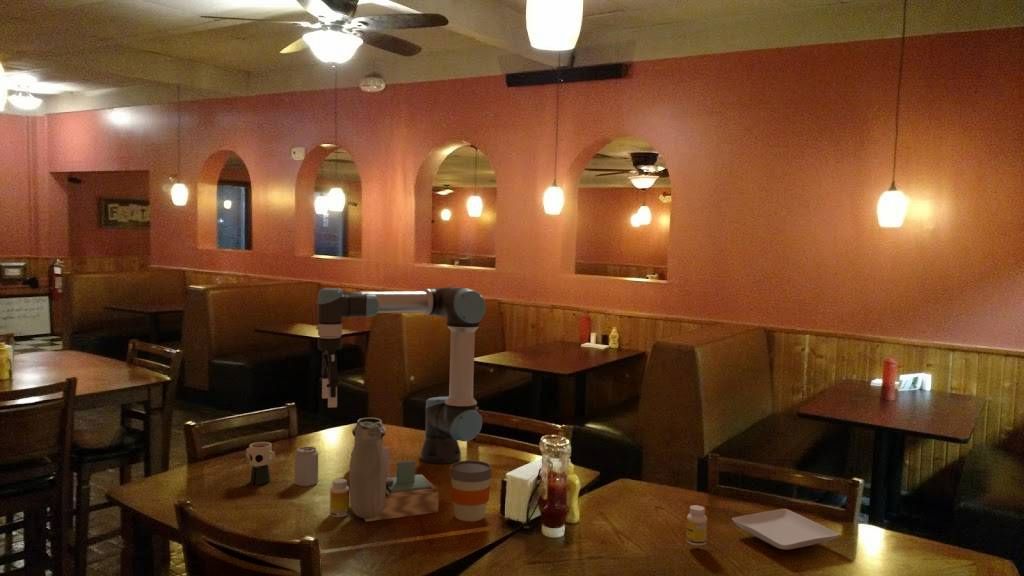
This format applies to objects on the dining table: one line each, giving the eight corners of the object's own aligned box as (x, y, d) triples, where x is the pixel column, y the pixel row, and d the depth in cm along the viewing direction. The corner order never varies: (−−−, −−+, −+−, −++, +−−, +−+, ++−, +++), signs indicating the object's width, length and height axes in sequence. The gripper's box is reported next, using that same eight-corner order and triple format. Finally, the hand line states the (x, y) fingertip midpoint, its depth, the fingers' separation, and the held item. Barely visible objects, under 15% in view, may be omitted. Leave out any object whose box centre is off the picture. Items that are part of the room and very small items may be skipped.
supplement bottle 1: (351, 516, 218) (351, 482, 218) (332, 519, 216) (332, 484, 215) (346, 510, 223) (346, 477, 223) (328, 512, 221) (328, 479, 220)
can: (321, 481, 249) (321, 446, 248) (313, 488, 242) (313, 452, 241) (299, 479, 250) (299, 444, 249) (291, 487, 242) (291, 451, 242)
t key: (391, 487, 227) (391, 445, 226) (393, 490, 224) (393, 448, 223) (357, 491, 223) (357, 448, 222) (358, 493, 220) (359, 450, 220)
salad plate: (782, 556, 198) (783, 544, 198) (729, 528, 218) (729, 516, 218) (840, 545, 207) (841, 533, 207) (784, 518, 226) (785, 507, 226)
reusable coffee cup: (459, 526, 213) (460, 475, 212) (442, 511, 224) (443, 463, 223) (498, 519, 219) (499, 469, 218) (480, 505, 230) (481, 458, 229)
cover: (418, 479, 235) (419, 454, 235) (430, 491, 224) (430, 465, 224) (381, 483, 230) (381, 458, 230) (391, 495, 219) (391, 469, 219)
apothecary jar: (391, 472, 260) (392, 421, 259) (359, 477, 254) (359, 426, 252) (377, 463, 270) (377, 414, 269) (345, 468, 264) (346, 418, 262)
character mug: (239, 484, 244) (239, 445, 243) (253, 478, 251) (253, 440, 250) (267, 488, 241) (267, 449, 240) (280, 481, 247) (281, 443, 247)
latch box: (422, 494, 238) (422, 473, 238) (438, 512, 224) (438, 489, 223) (354, 503, 229) (354, 481, 229) (365, 521, 215) (365, 497, 214)
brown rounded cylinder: (391, 515, 219) (393, 421, 217) (367, 526, 210) (368, 429, 208) (367, 507, 224) (368, 416, 222) (342, 518, 216) (343, 423, 214)
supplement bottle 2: (683, 538, 208) (684, 504, 208) (702, 538, 209) (703, 504, 208) (689, 546, 203) (691, 511, 202) (708, 546, 204) (710, 511, 203)
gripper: (313, 332, 247) (312, 395, 248) (323, 342, 223) (322, 411, 225) (335, 331, 249) (335, 394, 251) (348, 341, 226) (347, 410, 228)
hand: (329, 402), depth 238 cm, fingers open, 13 cm apart
